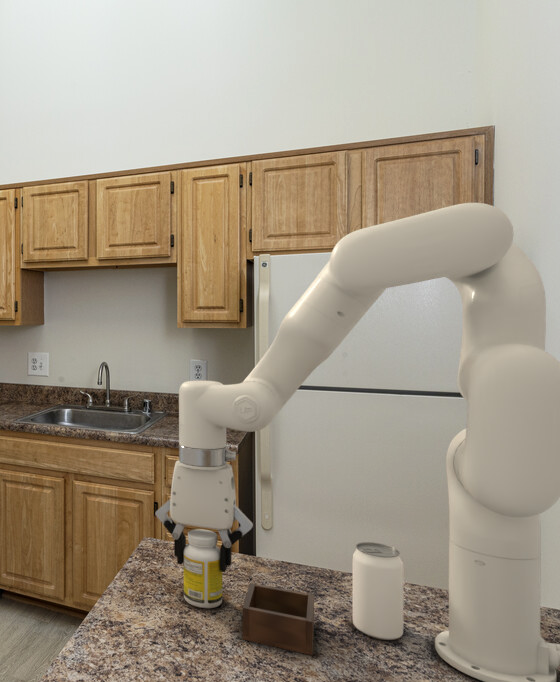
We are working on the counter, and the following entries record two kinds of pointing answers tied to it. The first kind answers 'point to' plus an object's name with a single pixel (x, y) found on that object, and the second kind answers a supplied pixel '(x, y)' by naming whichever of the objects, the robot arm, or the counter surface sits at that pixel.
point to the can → (378, 591)
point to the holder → (279, 618)
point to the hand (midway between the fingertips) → (202, 564)
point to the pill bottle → (202, 569)
